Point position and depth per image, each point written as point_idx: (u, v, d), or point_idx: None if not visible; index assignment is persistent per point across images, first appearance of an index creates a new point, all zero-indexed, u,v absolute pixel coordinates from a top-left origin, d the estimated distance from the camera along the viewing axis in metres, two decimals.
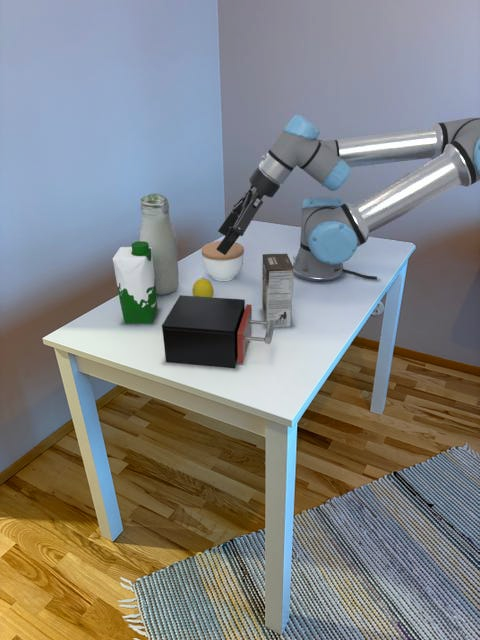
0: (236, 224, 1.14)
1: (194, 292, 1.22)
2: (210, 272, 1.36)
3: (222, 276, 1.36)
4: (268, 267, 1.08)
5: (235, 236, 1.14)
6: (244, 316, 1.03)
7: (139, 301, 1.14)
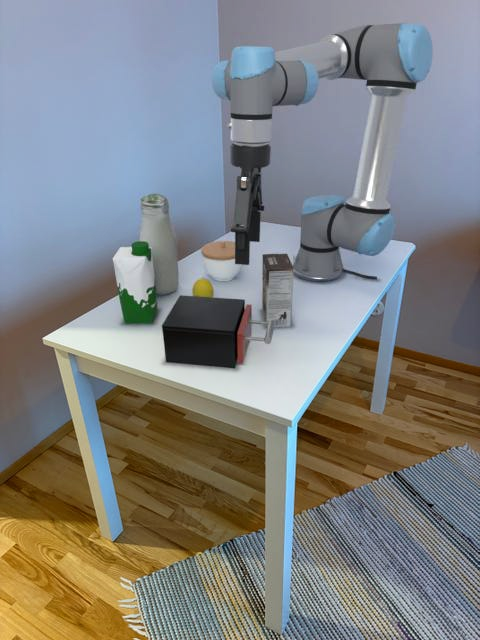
0: None
1: (194, 292, 1.22)
2: (210, 272, 1.36)
3: (222, 276, 1.36)
4: (268, 267, 1.08)
5: (243, 236, 0.86)
6: (244, 316, 1.03)
7: (139, 301, 1.14)
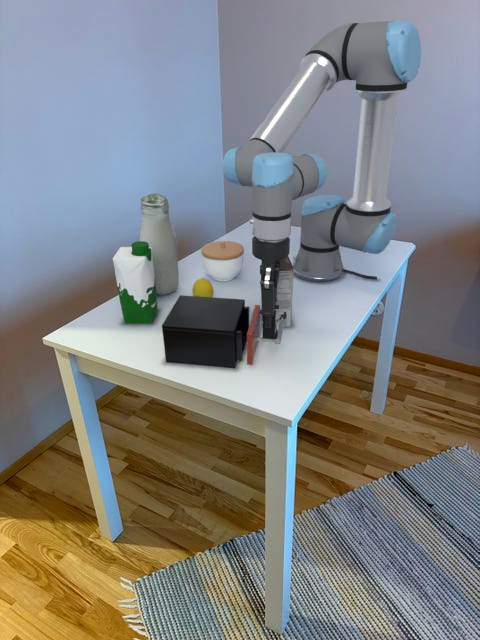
0: None
1: (194, 292, 1.22)
2: (210, 272, 1.36)
3: (222, 276, 1.36)
4: None
5: (269, 318, 0.99)
6: (253, 317, 1.02)
7: (139, 301, 1.14)
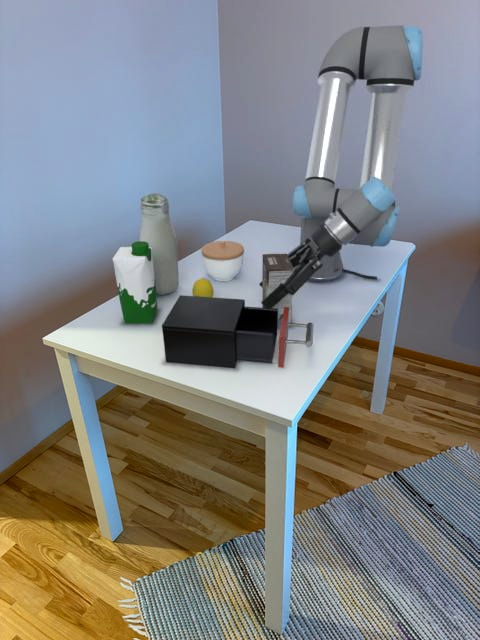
0: (288, 282, 1.07)
1: (194, 292, 1.22)
2: (210, 272, 1.36)
3: (222, 276, 1.36)
4: (268, 267, 1.08)
5: (284, 293, 1.08)
6: (283, 319, 1.02)
7: (139, 301, 1.14)
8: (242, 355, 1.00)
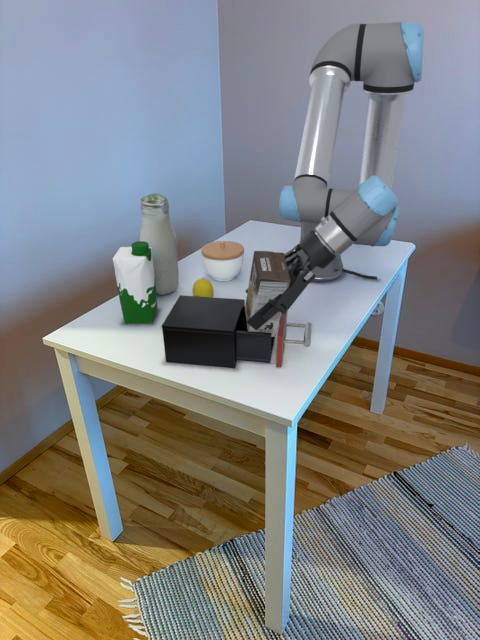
0: (278, 297, 0.91)
1: (194, 292, 1.22)
2: (210, 272, 1.36)
3: (222, 276, 1.36)
4: (260, 275, 0.88)
5: (274, 312, 0.91)
6: (282, 319, 1.02)
7: (139, 301, 1.14)
8: (240, 355, 1.00)
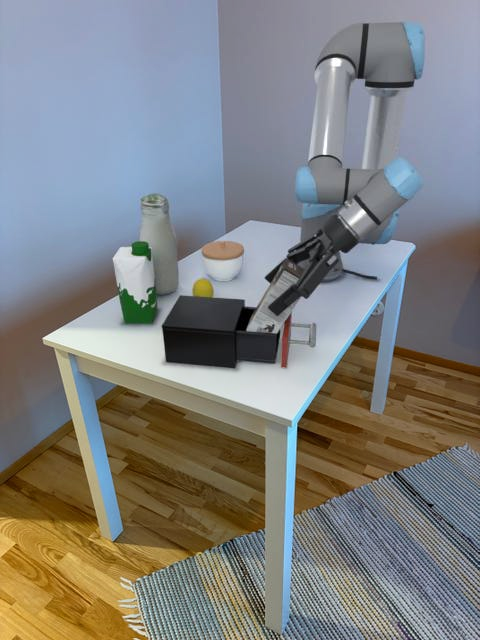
0: (300, 282, 0.89)
1: (194, 292, 1.22)
2: (210, 272, 1.36)
3: (222, 276, 1.36)
4: (285, 266, 0.94)
5: (296, 297, 0.90)
6: (287, 319, 1.01)
7: (139, 301, 1.14)
8: (245, 355, 1.00)
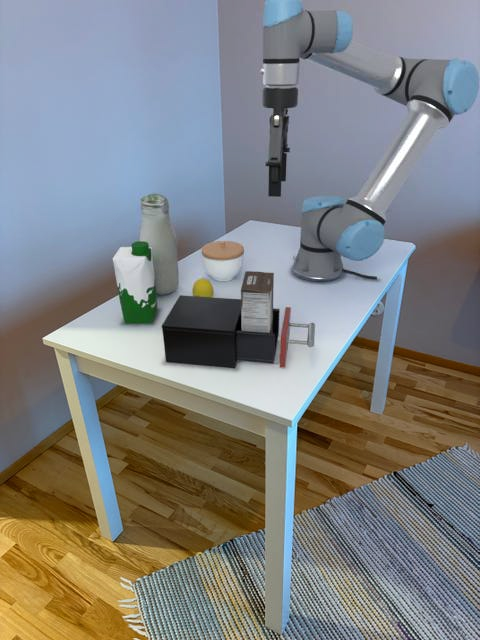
0: None
1: (194, 292, 1.22)
2: (210, 272, 1.36)
3: (222, 276, 1.36)
4: (242, 287, 0.94)
5: (276, 169, 0.98)
6: (285, 319, 1.01)
7: (139, 301, 1.14)
8: (244, 355, 1.00)
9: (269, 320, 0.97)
